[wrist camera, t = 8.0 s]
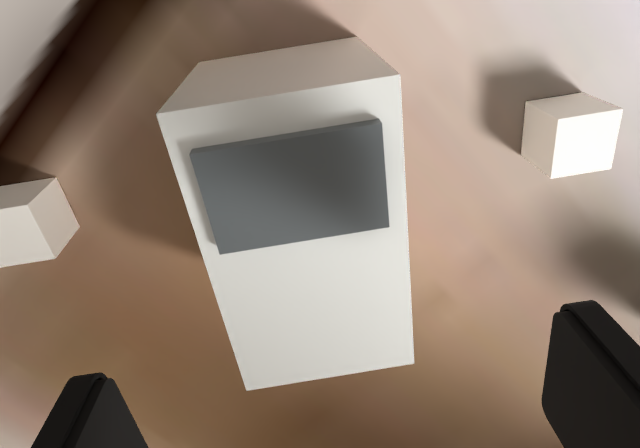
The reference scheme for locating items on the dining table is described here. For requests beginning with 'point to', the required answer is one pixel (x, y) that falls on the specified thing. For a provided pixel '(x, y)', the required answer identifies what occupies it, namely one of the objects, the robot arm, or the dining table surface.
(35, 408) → the dining table surface
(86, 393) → the robot arm
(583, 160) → the rounded white cube
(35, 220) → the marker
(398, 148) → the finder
